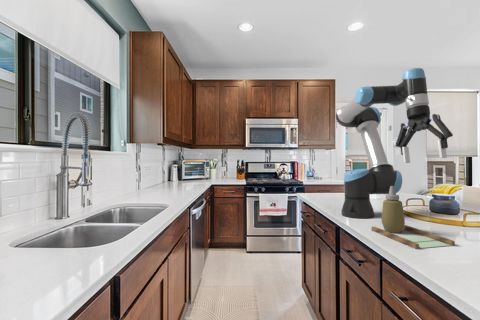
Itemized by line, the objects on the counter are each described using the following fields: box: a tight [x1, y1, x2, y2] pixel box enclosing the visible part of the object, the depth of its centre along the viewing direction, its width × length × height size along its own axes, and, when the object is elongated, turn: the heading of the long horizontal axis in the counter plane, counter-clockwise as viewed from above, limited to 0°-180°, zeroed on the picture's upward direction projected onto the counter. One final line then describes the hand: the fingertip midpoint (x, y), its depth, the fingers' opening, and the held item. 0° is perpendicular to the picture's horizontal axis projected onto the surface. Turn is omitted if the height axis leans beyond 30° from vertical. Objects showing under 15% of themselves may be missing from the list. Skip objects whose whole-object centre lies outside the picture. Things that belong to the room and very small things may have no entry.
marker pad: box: [404, 235, 451, 249], centre depth 89 cm, size 10×11×1 cm
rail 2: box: [403, 224, 456, 247], centre depth 96 cm, size 22×1×2 cm, turn 8°
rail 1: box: [371, 226, 420, 250], centre depth 94 cm, size 22×1×2 cm, turn 8°
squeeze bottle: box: [381, 186, 406, 234], centre depth 103 cm, size 8×8×18 cm
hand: (424, 160), depth 100 cm, fingers open, 13 cm apart
